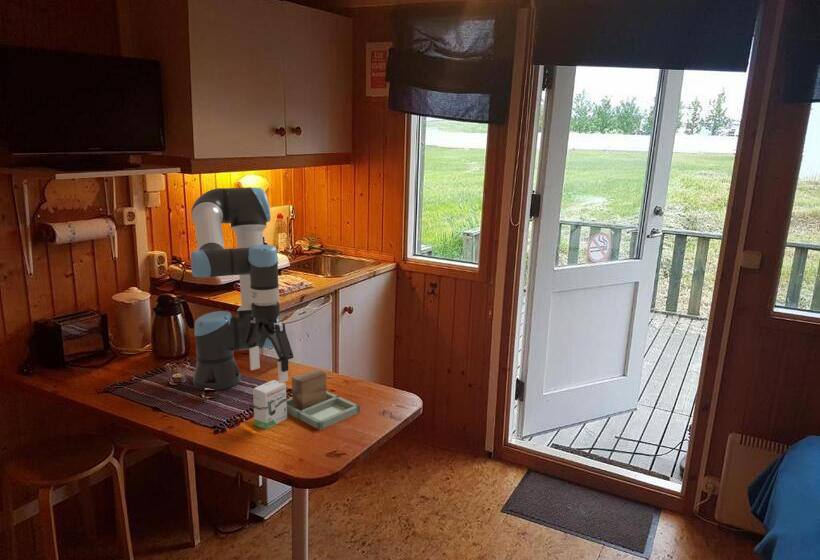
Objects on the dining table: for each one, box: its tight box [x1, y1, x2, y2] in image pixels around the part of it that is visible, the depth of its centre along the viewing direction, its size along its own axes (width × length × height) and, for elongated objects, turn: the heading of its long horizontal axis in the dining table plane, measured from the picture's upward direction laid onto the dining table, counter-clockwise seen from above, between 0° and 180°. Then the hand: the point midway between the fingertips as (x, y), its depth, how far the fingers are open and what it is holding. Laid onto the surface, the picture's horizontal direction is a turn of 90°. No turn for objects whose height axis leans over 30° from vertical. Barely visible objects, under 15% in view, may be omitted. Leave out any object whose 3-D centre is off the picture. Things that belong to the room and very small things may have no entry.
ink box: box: [252, 379, 288, 430], centre depth 171 cm, size 9×5×12 cm, turn 147°
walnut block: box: [291, 368, 327, 411], centre depth 181 cm, size 5×9×10 cm, turn 138°
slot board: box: [286, 390, 361, 431], centre depth 180 cm, size 19×15×3 cm
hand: (269, 375), depth 169 cm, fingers open, 13 cm apart
